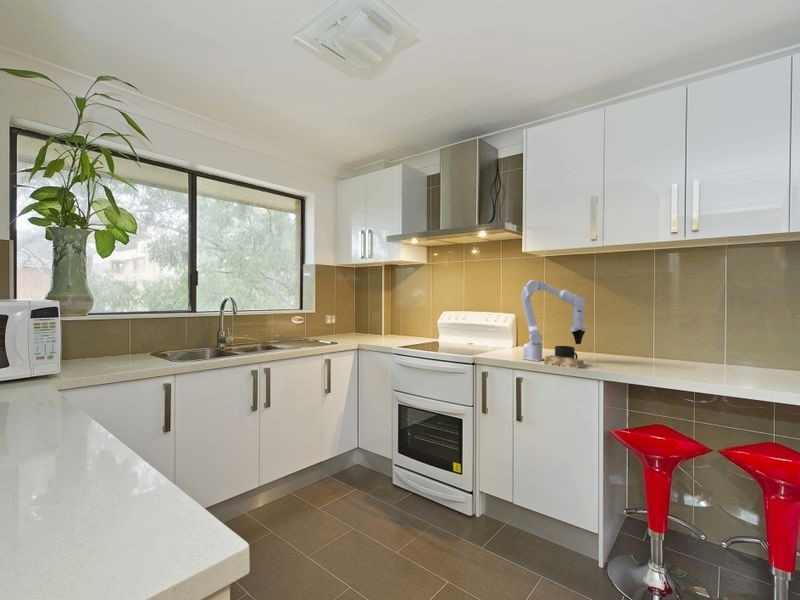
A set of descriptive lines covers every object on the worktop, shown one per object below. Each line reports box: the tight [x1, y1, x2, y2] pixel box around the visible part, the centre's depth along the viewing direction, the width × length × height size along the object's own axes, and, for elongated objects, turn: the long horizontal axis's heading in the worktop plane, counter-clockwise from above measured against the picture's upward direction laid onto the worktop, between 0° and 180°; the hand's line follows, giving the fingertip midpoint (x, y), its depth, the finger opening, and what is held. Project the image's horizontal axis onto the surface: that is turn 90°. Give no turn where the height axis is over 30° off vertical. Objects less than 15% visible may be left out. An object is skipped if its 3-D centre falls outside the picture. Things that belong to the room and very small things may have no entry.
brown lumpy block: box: [544, 354, 584, 369], centre depth 203 cm, size 17×7×5 cm, turn 43°
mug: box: [554, 345, 578, 360], centre depth 205 cm, size 9×12×9 cm
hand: (578, 344), depth 215 cm, fingers closed
